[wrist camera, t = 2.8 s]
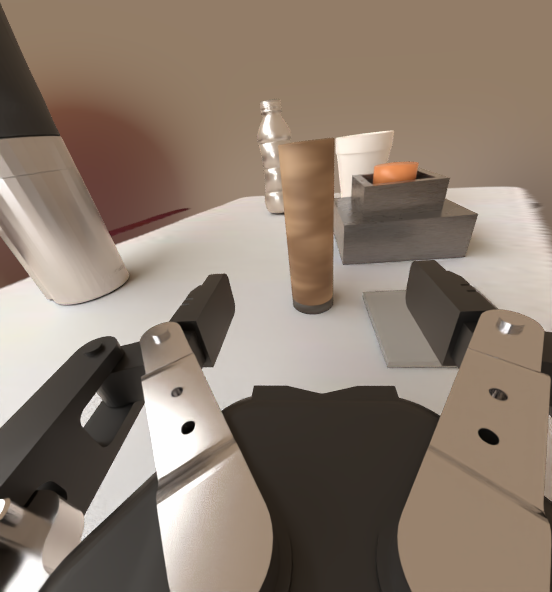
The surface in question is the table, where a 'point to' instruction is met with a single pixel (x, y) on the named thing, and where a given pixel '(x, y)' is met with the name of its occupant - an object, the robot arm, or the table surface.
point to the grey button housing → (401, 221)
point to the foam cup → (361, 155)
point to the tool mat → (399, 330)
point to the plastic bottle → (272, 151)
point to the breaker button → (395, 172)
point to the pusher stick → (309, 221)
